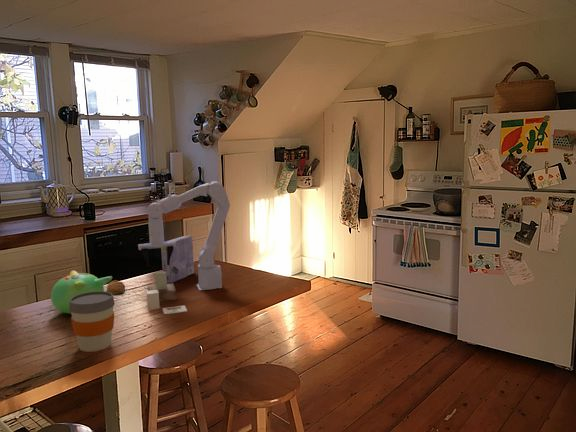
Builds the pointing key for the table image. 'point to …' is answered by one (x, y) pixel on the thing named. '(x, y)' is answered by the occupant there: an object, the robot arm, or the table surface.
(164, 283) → the sage block
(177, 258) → the cake pan box
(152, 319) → the table surface
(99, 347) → the reusable coffee cup
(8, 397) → the table surface
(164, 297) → the taupe square block
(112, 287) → the pastry
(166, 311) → the card
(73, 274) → the green rounded plush
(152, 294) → the cream block
